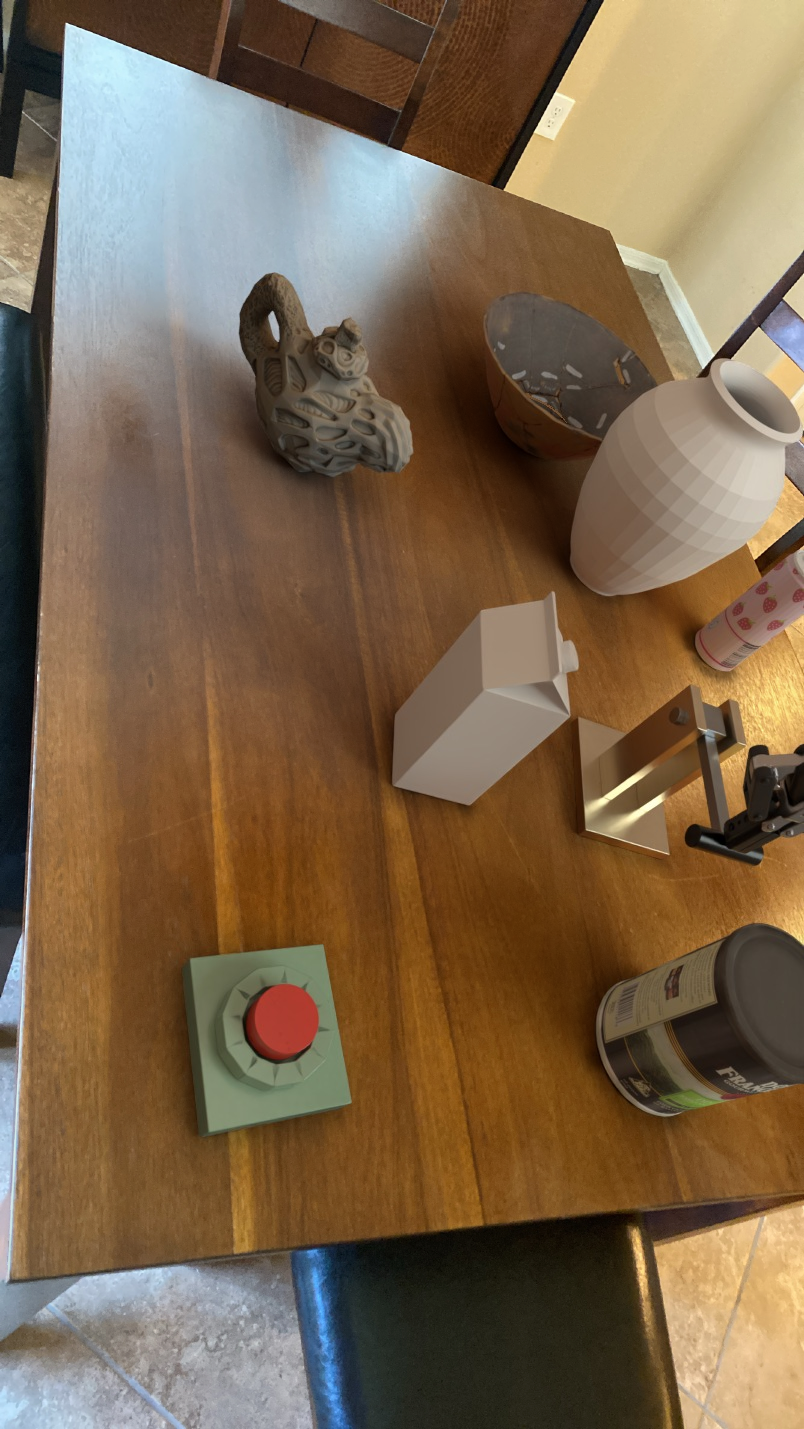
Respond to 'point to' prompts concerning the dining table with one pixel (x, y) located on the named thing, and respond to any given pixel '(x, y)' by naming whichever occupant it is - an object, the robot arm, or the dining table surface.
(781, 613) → the beverage can
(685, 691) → the lever bracket
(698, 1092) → the coffee can
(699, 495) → the vase
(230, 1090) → the button block
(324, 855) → the dining table surface
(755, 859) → the lever handle
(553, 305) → the bowl
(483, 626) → the milk carton
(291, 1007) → the button
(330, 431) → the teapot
